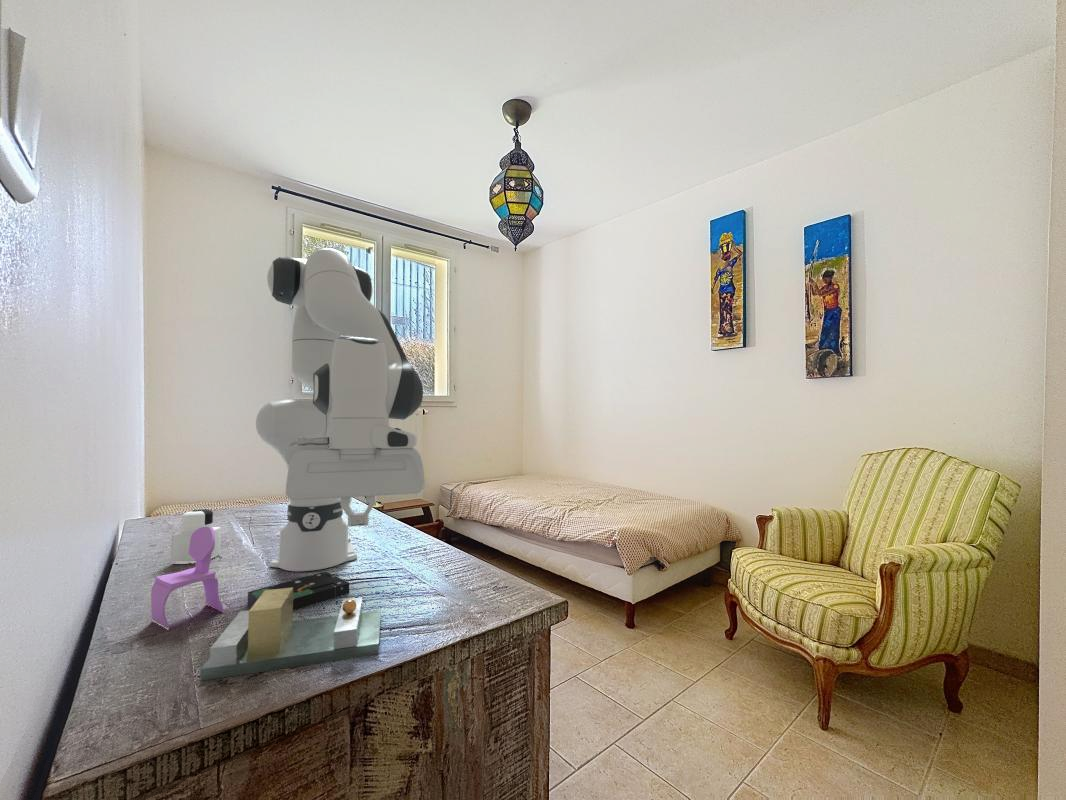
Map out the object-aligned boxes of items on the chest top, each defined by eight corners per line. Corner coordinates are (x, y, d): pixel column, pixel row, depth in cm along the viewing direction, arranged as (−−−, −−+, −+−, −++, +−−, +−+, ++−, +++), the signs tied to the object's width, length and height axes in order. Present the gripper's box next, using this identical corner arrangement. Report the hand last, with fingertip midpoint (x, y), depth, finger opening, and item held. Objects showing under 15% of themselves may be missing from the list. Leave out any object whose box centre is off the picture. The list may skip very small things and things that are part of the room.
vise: (232, 638, 70) (232, 612, 70) (380, 619, 76) (381, 595, 76) (200, 680, 58) (201, 649, 58) (378, 654, 65) (378, 626, 65)
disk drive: (325, 584, 94) (245, 606, 83) (325, 570, 94) (246, 590, 83) (350, 596, 88) (268, 622, 76) (350, 581, 88) (268, 605, 76)
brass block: (247, 655, 62) (248, 611, 62) (263, 629, 69) (264, 590, 70) (280, 650, 63) (281, 607, 63) (292, 625, 70) (293, 587, 71)
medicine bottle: (190, 556, 112) (191, 508, 113) (220, 555, 113) (221, 507, 113) (170, 565, 105) (172, 514, 105) (202, 564, 106) (204, 513, 106)
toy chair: (146, 621, 76) (149, 532, 76) (205, 603, 83) (208, 522, 84) (166, 633, 71) (169, 538, 72) (227, 613, 79) (229, 527, 79)
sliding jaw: (343, 614, 74) (343, 587, 75) (362, 611, 75) (362, 585, 76) (333, 649, 63) (334, 617, 63) (356, 646, 64) (356, 614, 64)
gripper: (280, 438, 65) (278, 535, 64) (425, 436, 70) (425, 525, 70) (291, 437, 71) (289, 525, 70) (423, 435, 76) (423, 517, 76)
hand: (358, 525), depth 70 cm, fingers closed
